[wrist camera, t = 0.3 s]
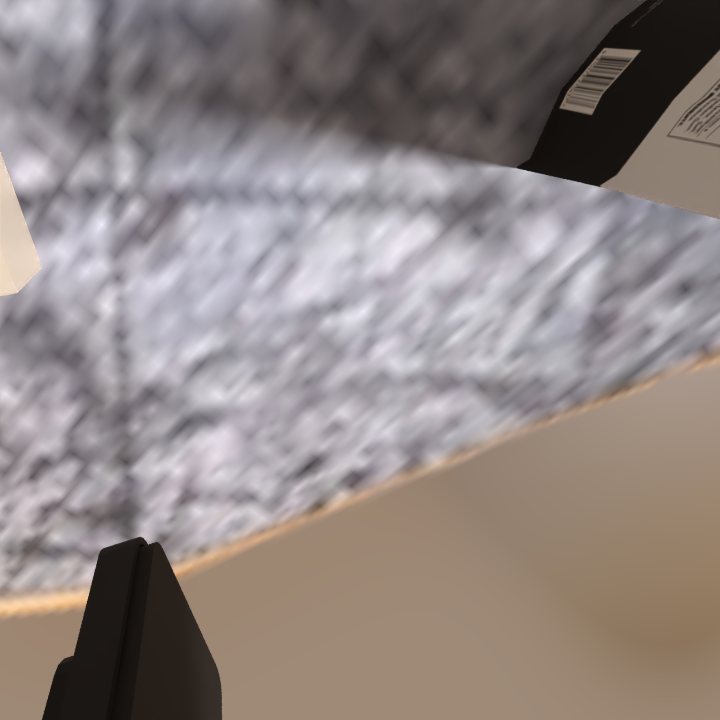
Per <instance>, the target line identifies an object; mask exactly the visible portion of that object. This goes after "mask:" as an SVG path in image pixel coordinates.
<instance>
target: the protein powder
mask: <svg viewBox="0 0 720 720" xmlns="http://www.w3.org/2000/svg"><path fill="white" fill-rule="evenodd" d="M517 168H518V169H522V170H527V171H531V172H536V173H540V174H545V175H549V176H554V177H558V178H563V179H567V180H572V181H576V182H581V183H585V184H590V185H594V186H599V187H603V188H607V189H611V190H615V191H618V192H622V193H626V194H629V195H633V196H637V197H640V198H644V199H648V200H651V201H655V202H659V203H663V204H666V205H670V206H674V207H677V208H681V209H685V210H688V211H692V212H696V213H699V214H703V215H707V216H710V217H714V218H718V219H720V0H646V1H645V2H644V3H643V4H641V5H640V6H639V7H638V8H636V9H635V10H634V11H633V12H631V13H630V14H629V15H627V16H626V17H625V18H624V19H622V20H621V21H620V22H619V23H617V24H616V25H615V26H614V27H613V28H612V29H611V30H610V32H609V33H608V34H607V35H606V37H605V38H604V39H603V40H602V41H601V43H600V44H599V45H598V46H597V48H596V49H595V50H594V51H593V52H592V54H591V55H590V56H589V57H588V58H587V60H586V61H585V62H584V63H583V65H582V66H581V67H580V68H579V69H578V71H577V72H576V73H575V74H574V75H573V77H572V78H571V79H570V80H569V82H568V83H567V84H566V85H565V86H564V88H563V89H562V90H561V92H560V95H559V97H558V99H557V101H556V103H555V106H554V108H553V110H552V112H551V114H550V116H549V119H548V121H547V123H546V125H545V127H544V130H543V132H542V134H541V136H540V138H539V141H538V143H537V145H536V147H535V149H534V152H533V154H532V156H531V158H530V159H529V160H528V161H526V162H524V163H523V164H521V165H520V166H518V167H517Z"/></svg>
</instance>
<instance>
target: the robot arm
mask: <svg viewBox="0 0 720 720" xmlns="http://www.w3.org/2000/svg"><path fill="white" fill-rule="evenodd" d="M221 694H222V693H221V682H220V677H219V673H218V669H217V666H216V664H215V662H214V660H213V658H212V655H211V653H210V651H209V649H208V646H207V644H206V642H205V640H204V638H203V636H202V633H201V631H200V629H199V627H198V625H197V622H196V620H195V618H194V616H193V614H192V611H191V609H190V608H189V605H188V603H187V601H186V599H185V596H184V594H183V592H182V590H181V587H180V585H179V583H178V581H177V579H176V576H175V574H174V572H173V570H172V568H171V566H170V563H169V561H168V559H167V557H166V555H165V552H164V550H163V548H162V547H161V545H160V544H159V543H158V542H155V543H152V544H149V545H148V544H147V542H146V541H145V540H144V538H142V537H138V538H135V539H131V540H128V541H125V542H122V543H119V544H115V545H112V546H109V547H106V548H103V549H102V550H101V551H100V553H99V556H98V560H97V564H96V568H95V572H94V576H93V580H92V584H91V588H90V592H89V596H88V600H87V604H86V608H85V612H84V616H83V620H82V624H81V628H80V632H79V637H78V641H77V644H76V648H75V652H74V656H71V657H68V658H65V659H64V660H62V661H61V663H60V664H59V665H58V667H57V670H56V672H55V675H54V678H53V681H52V685H51V689H50V693H49V696H48V700H47V703H46V707H45V711H44V714H43V718H42V720H222V695H221Z"/></svg>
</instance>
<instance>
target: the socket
mask: <svg viewBox="0 0 720 720" xmlns="http://www.w3.org/2000/svg"><path fill="white" fill-rule="evenodd" d="M41 268H42V266H41V263H40V260H39V258H38V255H37V252H36V249H35V247H34V244H33V241H32V238H31V235H30V233H29V230H28V227H27V224H26V222H25V219H24V216H23V213H22V210H21V208H20V205H19V202H18V199H17V197H16V194H15V191H14V188H13V185H12V183H11V180H10V177H9V174H8V172H7V169H6V166H5V163H4V160H3V158H2V155H1V152H0V296H3V295H8V294H13V293H18V292H19V291H20V290H21V289H22V288H23V287H24V285H25V284H26V283H27V282H28V281H29V280H30V279H31V278H32V277H33V276H34V275H35V274H36V273H37V272H38V271H39V270H40V269H41Z"/></svg>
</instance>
